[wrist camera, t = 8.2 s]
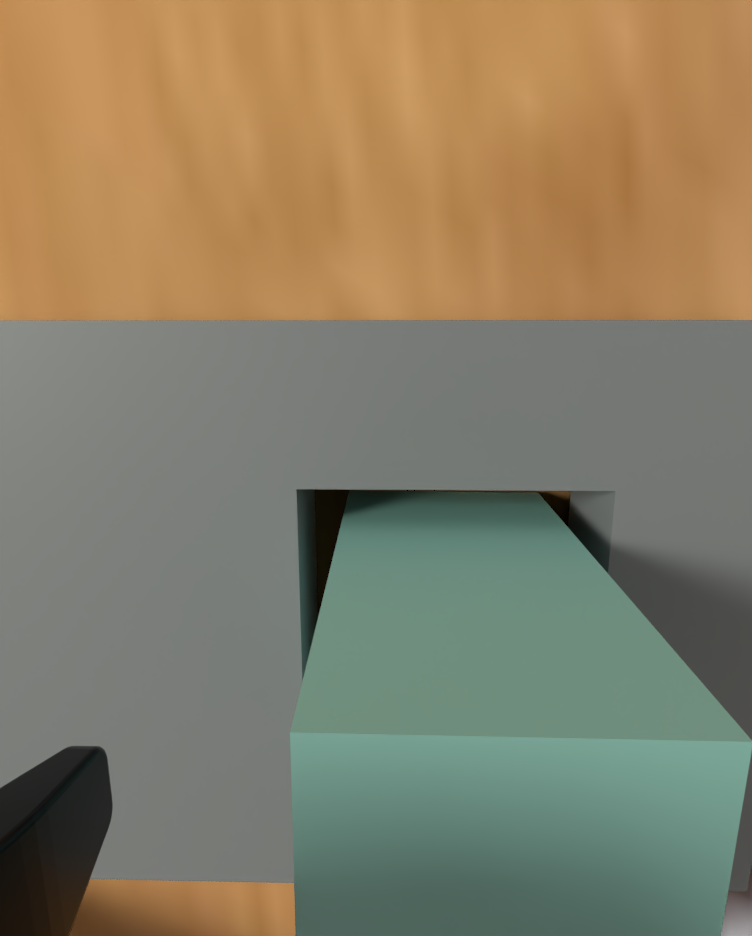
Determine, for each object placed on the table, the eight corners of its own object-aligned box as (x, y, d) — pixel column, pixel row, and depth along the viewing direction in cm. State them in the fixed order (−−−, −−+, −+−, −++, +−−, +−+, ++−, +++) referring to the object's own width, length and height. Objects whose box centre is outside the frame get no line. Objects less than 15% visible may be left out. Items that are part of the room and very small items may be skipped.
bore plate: (688, 797, 15) (747, 892, 12) (-140, 783, 15) (-242, 872, 13) (752, 320, 12) (842, 320, 10) (-244, 321, 13) (-394, 320, 10)
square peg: (526, 663, 14) (695, 1087, 6) (349, 659, 14) (299, 1074, 6) (538, 492, 13) (753, 742, 5) (349, 490, 13) (290, 732, 5)
